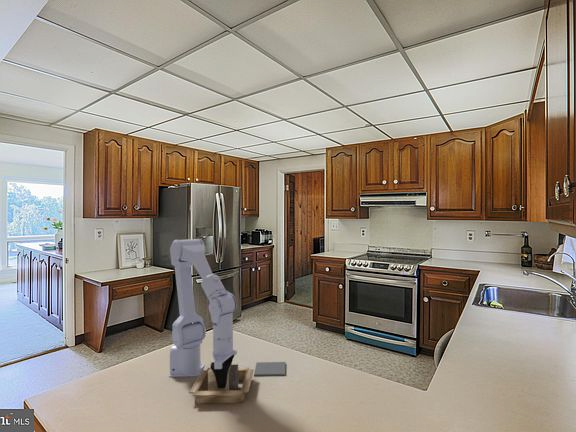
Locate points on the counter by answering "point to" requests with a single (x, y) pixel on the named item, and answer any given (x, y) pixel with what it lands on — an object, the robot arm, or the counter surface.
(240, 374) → the square wooden frame
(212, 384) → the box
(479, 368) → the counter surface
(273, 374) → the mat
